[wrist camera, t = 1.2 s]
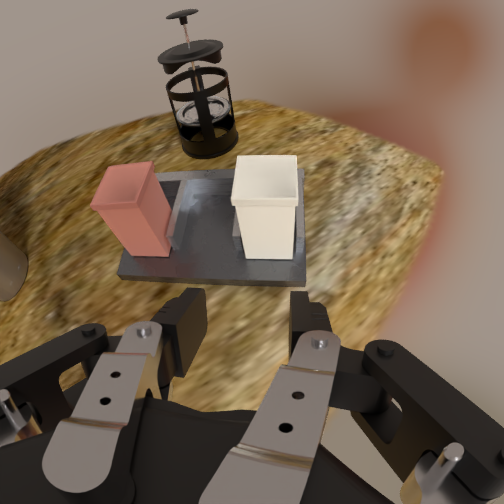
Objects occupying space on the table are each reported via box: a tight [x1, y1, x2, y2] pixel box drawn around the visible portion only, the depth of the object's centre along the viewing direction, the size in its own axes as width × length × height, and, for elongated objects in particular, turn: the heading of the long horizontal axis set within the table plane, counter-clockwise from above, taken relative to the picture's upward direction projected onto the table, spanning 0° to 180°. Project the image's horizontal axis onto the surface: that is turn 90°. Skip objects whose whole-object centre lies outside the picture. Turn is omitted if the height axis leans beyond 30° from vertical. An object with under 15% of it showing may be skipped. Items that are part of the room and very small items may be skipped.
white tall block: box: [231, 155, 298, 259], centre depth 29 cm, size 5×5×10 cm
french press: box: [158, 9, 239, 159], centre depth 37 cm, size 12×9×23 cm
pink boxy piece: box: [90, 161, 172, 257], centre depth 31 cm, size 5×5×10 cm
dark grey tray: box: [117, 169, 306, 287], centre depth 35 cm, size 14×22×4 cm, turn 87°
